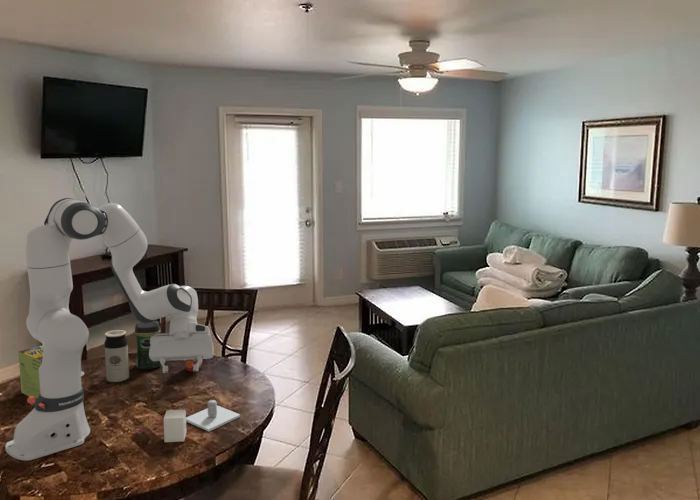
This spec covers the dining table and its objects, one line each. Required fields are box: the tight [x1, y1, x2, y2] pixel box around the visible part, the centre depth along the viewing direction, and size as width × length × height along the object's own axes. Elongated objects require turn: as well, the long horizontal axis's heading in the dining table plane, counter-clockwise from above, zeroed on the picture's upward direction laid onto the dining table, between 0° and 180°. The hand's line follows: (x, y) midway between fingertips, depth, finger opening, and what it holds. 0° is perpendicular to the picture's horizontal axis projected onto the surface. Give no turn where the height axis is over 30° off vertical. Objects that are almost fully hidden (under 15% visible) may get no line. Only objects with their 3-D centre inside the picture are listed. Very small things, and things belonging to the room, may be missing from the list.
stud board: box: [186, 399, 241, 432], centre depth 187 cm, size 13×12×6 cm
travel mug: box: [104, 329, 130, 383], centre depth 218 cm, size 8×8×18 cm
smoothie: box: [183, 359, 203, 372], centre depth 228 cm, size 8×8×20 cm
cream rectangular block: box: [163, 409, 187, 443], centre depth 174 cm, size 6×6×8 cm
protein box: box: [18, 345, 44, 399], centre depth 204 cm, size 10×15×16 cm
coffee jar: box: [134, 320, 162, 370], centre depth 231 cm, size 10×8×19 cm
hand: (180, 371), depth 185 cm, fingers open, 8 cm apart
